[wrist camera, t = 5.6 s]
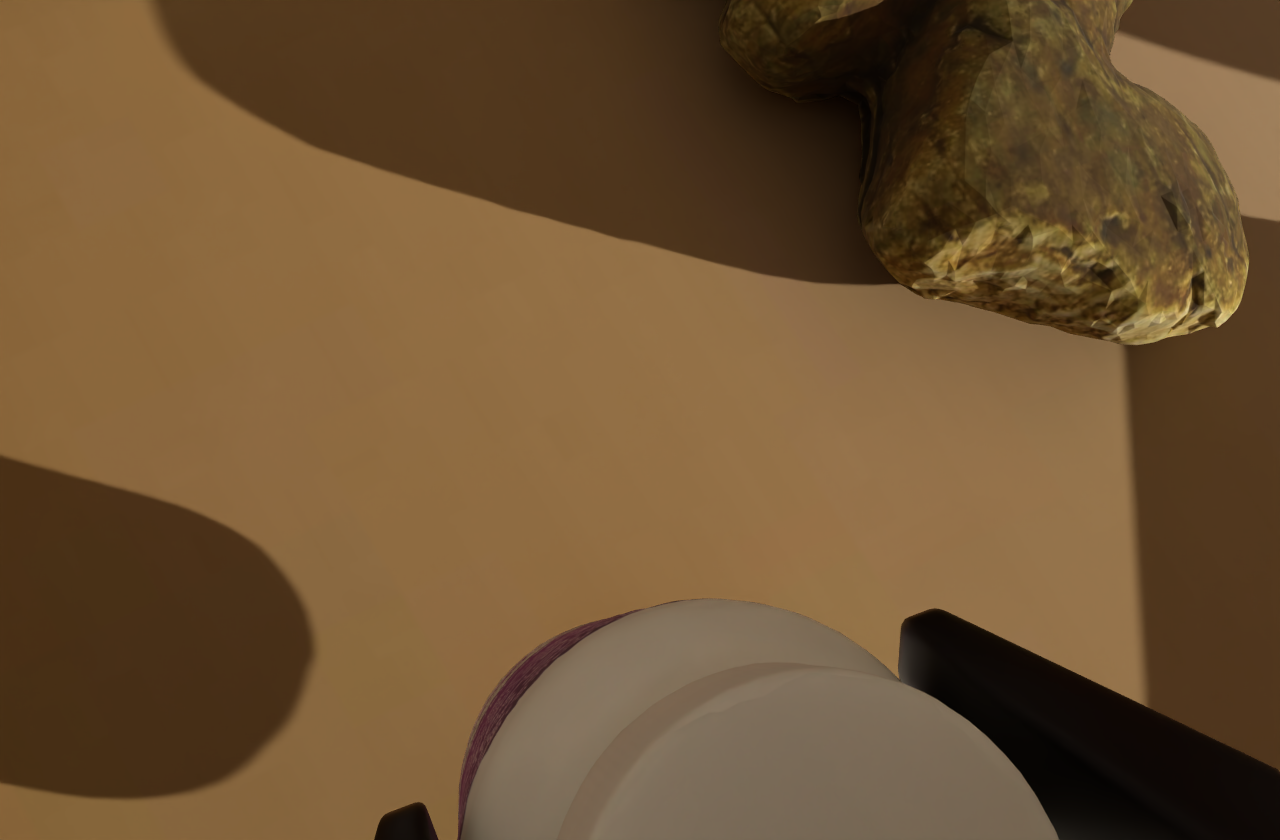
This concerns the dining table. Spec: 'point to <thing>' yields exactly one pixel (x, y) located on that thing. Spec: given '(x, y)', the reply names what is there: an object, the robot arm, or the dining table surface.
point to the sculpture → (1014, 159)
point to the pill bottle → (728, 740)
